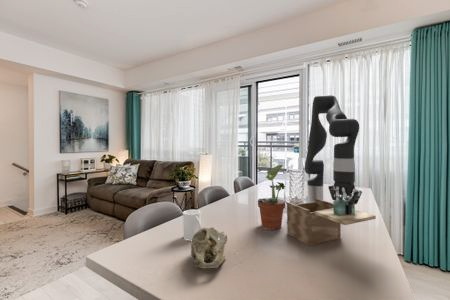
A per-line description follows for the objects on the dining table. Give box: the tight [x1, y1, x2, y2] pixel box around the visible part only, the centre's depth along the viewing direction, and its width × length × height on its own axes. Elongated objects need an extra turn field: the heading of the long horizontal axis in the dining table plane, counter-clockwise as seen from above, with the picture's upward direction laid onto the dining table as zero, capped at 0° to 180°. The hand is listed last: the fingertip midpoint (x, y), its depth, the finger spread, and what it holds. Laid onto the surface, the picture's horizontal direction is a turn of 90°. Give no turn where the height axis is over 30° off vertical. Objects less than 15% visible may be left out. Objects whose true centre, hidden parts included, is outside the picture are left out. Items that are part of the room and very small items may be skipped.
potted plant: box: [257, 164, 286, 231], centre depth 116 cm, size 16×15×35 cm
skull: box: [190, 226, 228, 269], centre depth 81 cm, size 11×20×15 cm
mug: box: [182, 209, 202, 240], centre depth 102 cm, size 12×8×12 cm
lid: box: [315, 198, 377, 226], centre depth 87 cm, size 14×16×6 cm
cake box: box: [286, 199, 342, 246], centre depth 103 cm, size 14×19×15 cm
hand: (344, 213), depth 87 cm, fingers closed on lid, 3 cm apart
